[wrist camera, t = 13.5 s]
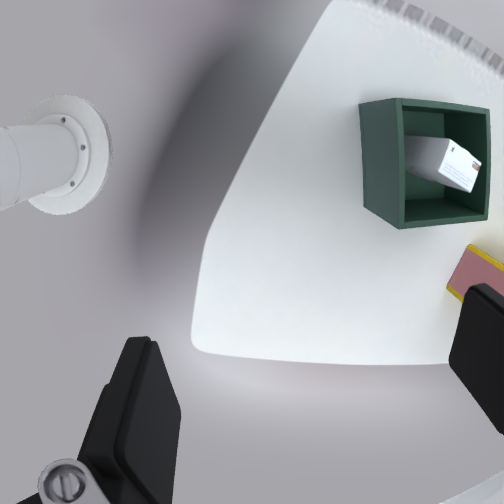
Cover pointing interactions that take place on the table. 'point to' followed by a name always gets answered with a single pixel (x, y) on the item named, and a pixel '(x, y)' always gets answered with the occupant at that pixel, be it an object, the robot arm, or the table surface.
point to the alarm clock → (476, 273)
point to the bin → (408, 185)
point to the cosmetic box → (440, 161)
